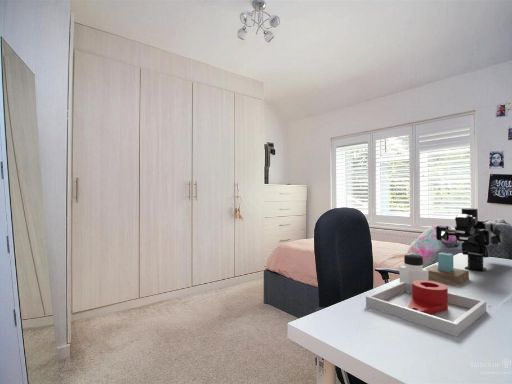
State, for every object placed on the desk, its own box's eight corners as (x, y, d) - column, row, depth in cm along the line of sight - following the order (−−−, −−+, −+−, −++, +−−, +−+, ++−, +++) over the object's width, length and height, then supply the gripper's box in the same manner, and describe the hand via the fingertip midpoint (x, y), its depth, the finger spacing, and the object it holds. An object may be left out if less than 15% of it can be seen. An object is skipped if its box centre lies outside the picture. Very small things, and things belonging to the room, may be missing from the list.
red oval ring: (418, 298, 95) (418, 278, 95) (452, 306, 88) (451, 285, 88) (395, 313, 84) (395, 290, 84) (430, 324, 76) (430, 299, 77)
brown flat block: (435, 274, 123) (435, 264, 123) (468, 280, 113) (468, 270, 113) (423, 279, 115) (423, 269, 115) (458, 287, 106) (457, 276, 106)
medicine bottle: (429, 290, 102) (428, 257, 102) (408, 290, 102) (408, 256, 102) (418, 284, 109) (417, 252, 109) (399, 284, 110) (399, 252, 110)
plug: (442, 276, 117) (442, 252, 117) (453, 279, 114) (453, 253, 114) (438, 278, 115) (438, 253, 115) (449, 280, 111) (449, 255, 112)
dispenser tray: (403, 289, 103) (403, 281, 103) (486, 311, 84) (486, 301, 84) (365, 306, 88) (365, 296, 88) (456, 336, 69) (456, 324, 69)
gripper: (443, 213, 132) (428, 216, 122) (494, 215, 117) (482, 220, 107) (443, 237, 132) (429, 242, 123) (495, 242, 117) (483, 249, 108)
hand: (454, 238), depth 115 cm, fingers open, 9 cm apart
